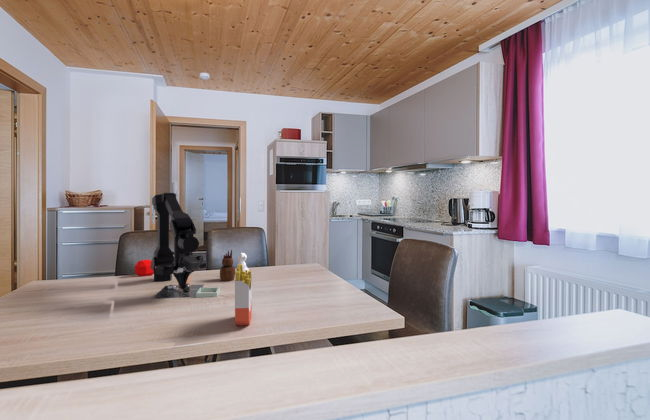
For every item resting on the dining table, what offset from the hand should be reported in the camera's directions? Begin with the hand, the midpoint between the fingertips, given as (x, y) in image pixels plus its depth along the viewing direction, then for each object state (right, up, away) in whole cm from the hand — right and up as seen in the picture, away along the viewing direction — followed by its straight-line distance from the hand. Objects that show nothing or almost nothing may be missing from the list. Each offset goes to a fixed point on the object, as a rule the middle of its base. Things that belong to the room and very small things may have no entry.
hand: (182, 289), depth 133 cm
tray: (+9, -3, +2) cm, 10 cm away
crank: (-4, -2, +6) cm, 7 cm away
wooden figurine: (+11, -2, +23) cm, 26 cm away
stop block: (-4, -2, +12) cm, 12 cm away
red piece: (-32, -2, +33) cm, 45 cm away
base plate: (-4, -3, +6) cm, 7 cm away
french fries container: (+29, -5, -23) cm, 38 cm away
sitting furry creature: (+14, -2, +33) cm, 36 cm away
